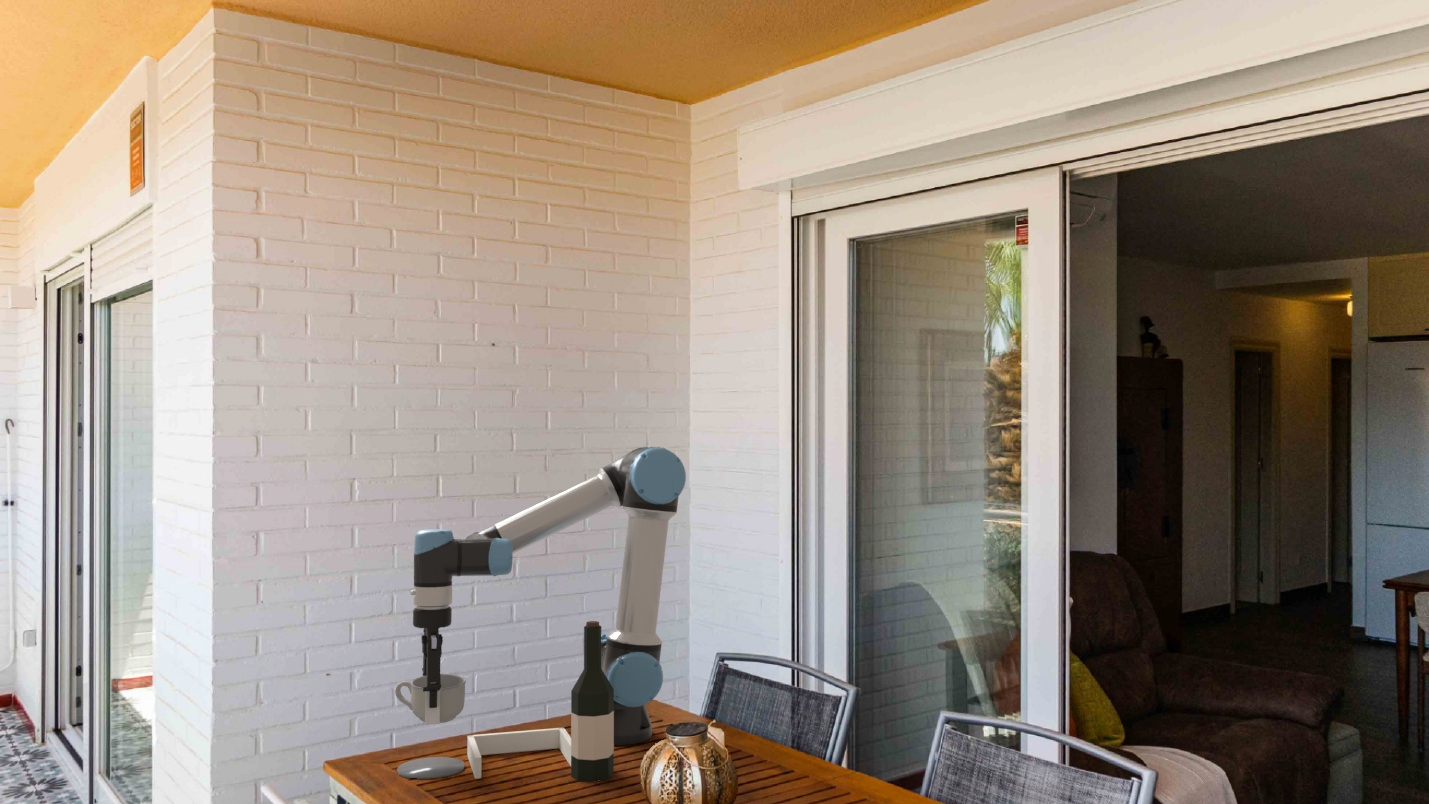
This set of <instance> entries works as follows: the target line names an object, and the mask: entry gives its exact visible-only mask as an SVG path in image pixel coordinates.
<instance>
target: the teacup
mask: <svg viewBox="0 0 1429 804" xmlns="http://www.w3.org/2000/svg"><path fill="white" fill-rule="evenodd" d="M440 674H441V688H440V724H445V723H448V722H450V721H454V719H456V717H458V716H459V715H460V714H461V713H462V711H463V710H464V706H465V698H466V696H465V695H466V683H467V681H466V680H467V679H466V678H465V677H463V676H460V675H457V674H449V673H448V674H447V673H440ZM434 683H436V682H434ZM402 687H406V688H408V691H409V694H410V695H411V697H410V700H409V699H408V698H406V697H404V695H403V694H402V693H401V689H402ZM423 687H427V676H423V675H422V676H419V677H416V678H415V679H413V680H412V681H409V680H402V681H400V682H399V683H397V685H396V687H395V689H394V693H395V696H396V698H397V699H398V701H399V702H400V703H402V704H404V705H405V706H406V707H408V708H409V710H410V711H412V713H413V715H414V716H415V717H416V718H418V719H419V720H420V721H421V722H422V723H423V722H424V723H425V704H426V691H425V692H423Z"/></svg>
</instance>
